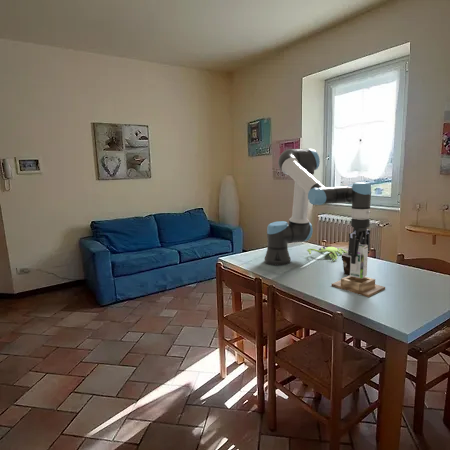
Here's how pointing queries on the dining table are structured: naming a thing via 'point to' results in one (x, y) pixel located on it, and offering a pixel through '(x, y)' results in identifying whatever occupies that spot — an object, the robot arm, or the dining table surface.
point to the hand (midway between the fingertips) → (358, 268)
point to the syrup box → (361, 262)
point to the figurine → (329, 249)
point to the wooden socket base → (359, 285)
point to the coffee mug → (346, 263)
